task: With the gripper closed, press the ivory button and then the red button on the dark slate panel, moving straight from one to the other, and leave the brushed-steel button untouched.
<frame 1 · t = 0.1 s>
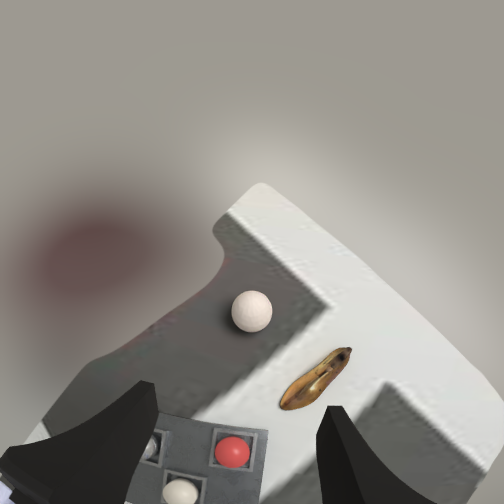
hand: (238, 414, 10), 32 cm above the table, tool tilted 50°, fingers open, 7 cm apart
shoe last: (315, 380, 41), on the table
ivory button: (181, 493, 27), point 4 cm above the table, slide at 0.0 cm
steel button: (140, 445, 30), point 4 cm above the table, slide at 0.0 cm
red button: (232, 451, 31), point 4 cm above the table, slide at 0.0 cm
slate panel: (189, 470, 32), on the table
egg: (251, 319, 46), on the table
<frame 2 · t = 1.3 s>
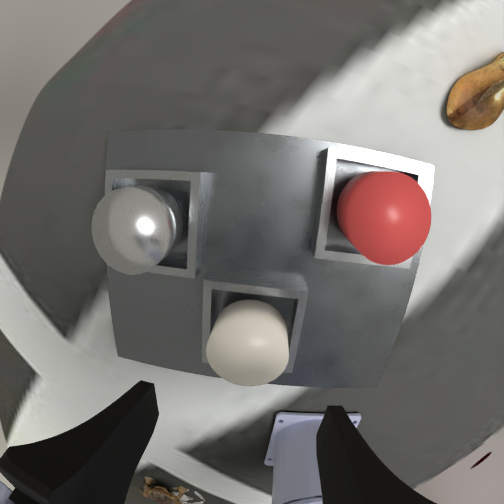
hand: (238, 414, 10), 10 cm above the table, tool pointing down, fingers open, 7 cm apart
shoe last: (485, 87, 14), on the table
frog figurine: (167, 488, 31), on the table
ivory button: (249, 343, 16), point 4 cm above the table, slide at 0.0 cm
steel button: (137, 227, 14), point 4 cm above the table, slide at 0.0 cm
red button: (383, 215, 13), point 4 cm above the table, slide at 0.0 cm
slate panel: (258, 268, 19), on the table
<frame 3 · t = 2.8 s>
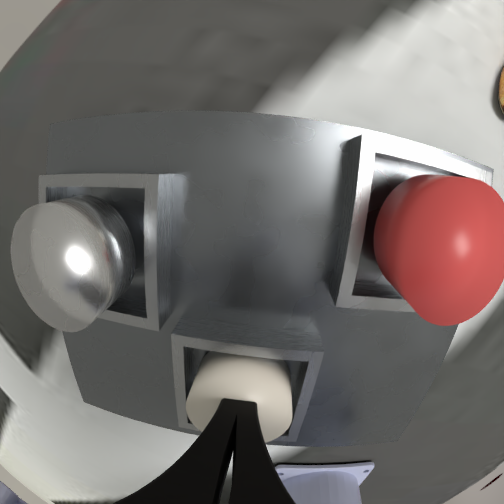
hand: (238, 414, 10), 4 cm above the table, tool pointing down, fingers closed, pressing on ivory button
ivory button: (241, 396, 12), point 3 cm above the table, slide at 1.5 cm, touching gripper
steel button: (69, 260, 9), point 4 cm above the table, slide at 0.0 cm
red button: (445, 245, 8), point 4 cm above the table, slide at 0.0 cm
slate panel: (252, 309, 13), on the table
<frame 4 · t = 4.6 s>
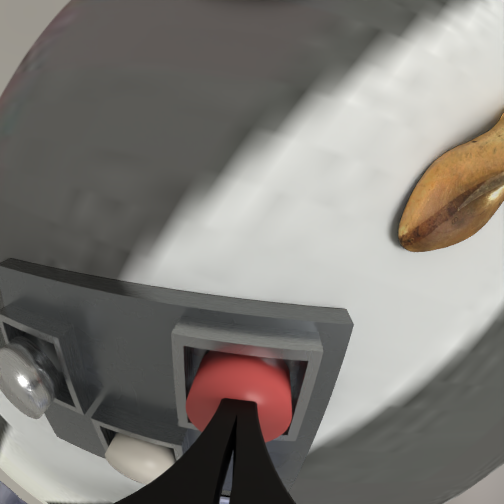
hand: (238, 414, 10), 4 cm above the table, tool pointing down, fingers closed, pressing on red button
shoe last: (479, 164, 11), on the table
ivory button: (141, 456, 14), point 3 cm above the table, slide at 1.5 cm
steel button: (24, 377, 11), point 4 cm above the table, slide at 0.0 cm
red button: (241, 396, 12), point 3 cm above the table, slide at 1.5 cm, touching gripper
slate panel: (148, 401, 16), on the table
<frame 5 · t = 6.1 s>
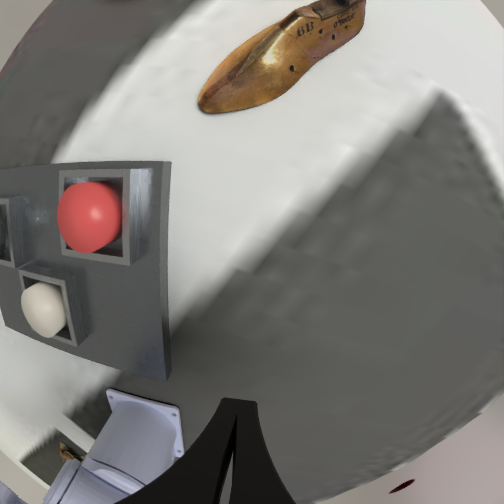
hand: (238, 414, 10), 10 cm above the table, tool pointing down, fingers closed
shoe last: (285, 54, 16), on the table
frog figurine: (80, 458, 32), on the table
ivory button: (46, 307, 19), point 3 cm above the table, slide at 1.5 cm
red button: (91, 215, 16), point 3 cm above the table, slide at 1.5 cm
slate panel: (60, 263, 21), on the table
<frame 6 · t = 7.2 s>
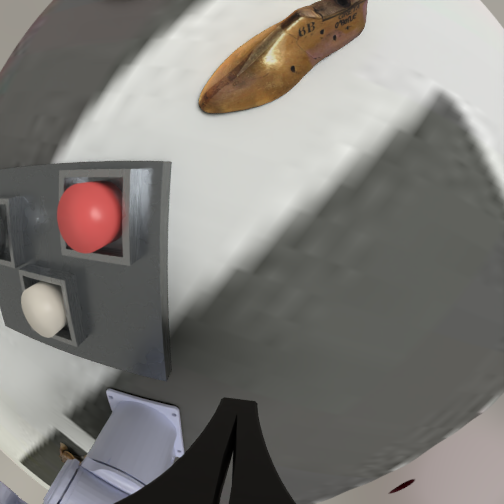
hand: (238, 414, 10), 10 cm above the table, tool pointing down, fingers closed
shoe last: (286, 54, 16), on the table
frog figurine: (81, 457, 32), on the table
ivory button: (46, 307, 19), point 3 cm above the table, slide at 1.5 cm
red button: (91, 215, 16), point 3 cm above the table, slide at 1.5 cm
slate panel: (60, 263, 21), on the table
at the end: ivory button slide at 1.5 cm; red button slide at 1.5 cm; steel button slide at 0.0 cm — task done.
